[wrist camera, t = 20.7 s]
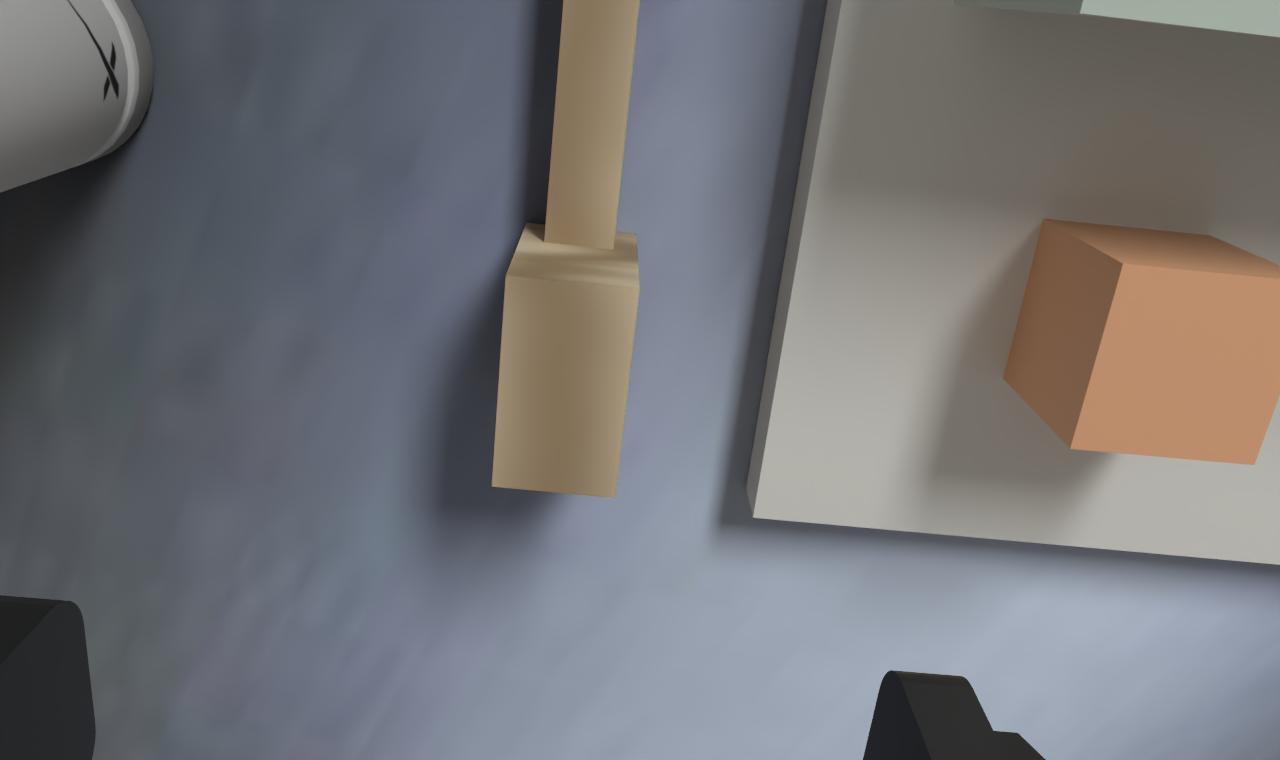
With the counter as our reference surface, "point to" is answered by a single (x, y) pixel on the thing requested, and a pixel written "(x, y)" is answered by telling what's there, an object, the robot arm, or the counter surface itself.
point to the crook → (574, 278)
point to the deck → (1005, 261)
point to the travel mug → (68, 83)
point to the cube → (1149, 342)
